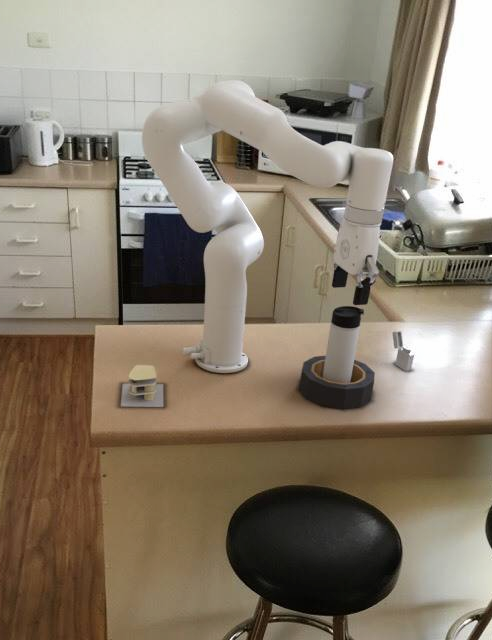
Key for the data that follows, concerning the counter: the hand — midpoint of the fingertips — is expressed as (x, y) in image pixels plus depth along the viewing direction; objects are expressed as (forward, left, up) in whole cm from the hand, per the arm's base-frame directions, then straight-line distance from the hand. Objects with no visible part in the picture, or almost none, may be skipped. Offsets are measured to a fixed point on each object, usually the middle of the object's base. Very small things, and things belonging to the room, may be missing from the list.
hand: (349, 295), depth 147 cm
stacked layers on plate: (-43, +7, -23) cm, 49 cm away
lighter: (+22, +9, -23) cm, 33 cm away
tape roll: (0, 0, -23) cm, 23 cm away
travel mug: (0, 0, -23) cm, 23 cm away
